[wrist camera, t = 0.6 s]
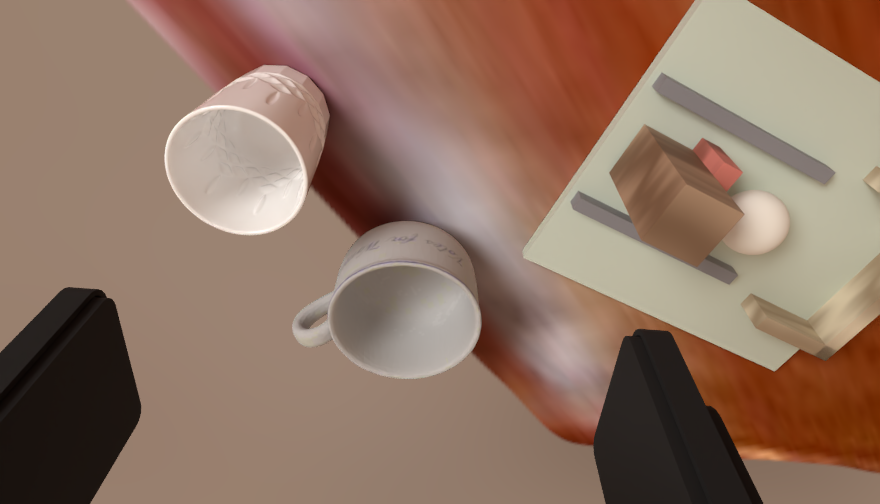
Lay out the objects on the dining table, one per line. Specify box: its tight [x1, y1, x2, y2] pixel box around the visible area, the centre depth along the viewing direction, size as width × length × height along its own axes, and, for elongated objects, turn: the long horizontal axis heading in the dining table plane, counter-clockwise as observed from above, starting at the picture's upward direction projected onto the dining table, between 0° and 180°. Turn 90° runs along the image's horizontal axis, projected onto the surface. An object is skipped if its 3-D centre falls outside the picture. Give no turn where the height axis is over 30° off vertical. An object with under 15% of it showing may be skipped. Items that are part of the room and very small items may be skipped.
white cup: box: [165, 65, 330, 235], centre depth 38 cm, size 8×8×10 cm
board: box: [522, 0, 880, 371], centre depth 44 cm, size 22×25×2 cm
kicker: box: [609, 124, 745, 267], centre depth 38 cm, size 6×6×9 cm
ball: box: [722, 190, 790, 255], centre depth 42 cm, size 4×4×4 cm
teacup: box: [292, 221, 482, 379], centre depth 45 cm, size 14×11×8 cm
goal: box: [741, 166, 880, 361], centre depth 44 cm, size 14×7×3 cm, turn 153°
